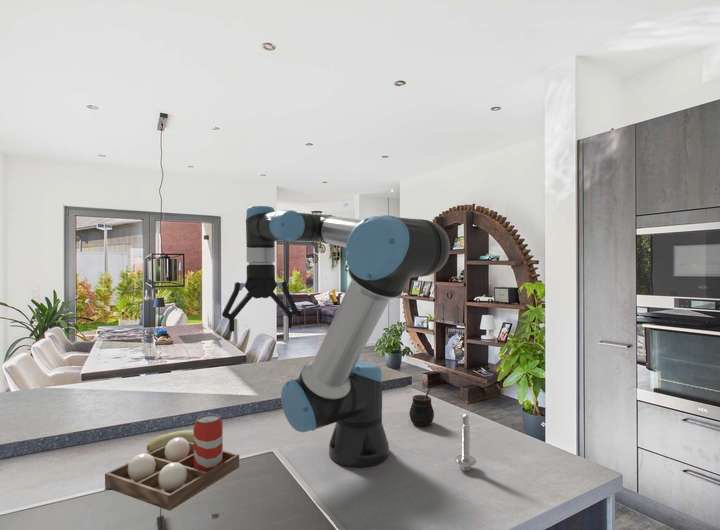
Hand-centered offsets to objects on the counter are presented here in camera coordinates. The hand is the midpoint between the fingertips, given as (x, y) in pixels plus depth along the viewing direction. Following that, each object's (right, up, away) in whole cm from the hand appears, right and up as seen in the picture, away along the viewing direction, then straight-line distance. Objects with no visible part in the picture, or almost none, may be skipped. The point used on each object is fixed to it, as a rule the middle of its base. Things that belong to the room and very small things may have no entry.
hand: (261, 341), depth 120 cm
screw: (+52, -27, -16) cm, 61 cm away
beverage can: (-8, -27, -18) cm, 33 cm away
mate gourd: (+45, -27, +11) cm, 54 cm away
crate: (-15, -27, -20) cm, 37 cm away
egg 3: (-13, -27, -27) cm, 40 cm away
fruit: (-21, -27, -5) cm, 34 cm away
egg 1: (-21, -27, -22) cm, 41 cm away
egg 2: (-17, -26, -14) cm, 34 cm away
